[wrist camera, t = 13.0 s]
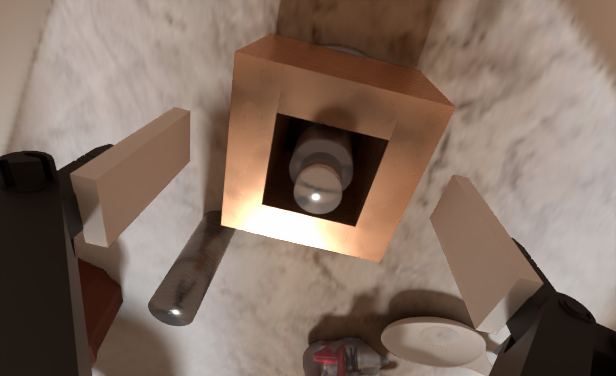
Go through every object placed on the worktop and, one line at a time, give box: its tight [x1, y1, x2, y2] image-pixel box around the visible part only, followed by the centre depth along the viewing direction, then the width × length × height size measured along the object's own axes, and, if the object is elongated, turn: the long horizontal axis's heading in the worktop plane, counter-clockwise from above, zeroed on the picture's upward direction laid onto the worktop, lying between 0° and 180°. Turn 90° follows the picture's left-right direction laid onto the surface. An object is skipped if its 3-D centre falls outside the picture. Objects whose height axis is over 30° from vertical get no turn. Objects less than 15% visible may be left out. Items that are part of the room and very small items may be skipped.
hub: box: [284, 44, 372, 214], centre depth 17 cm, size 9×9×10 cm
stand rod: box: [148, 211, 236, 326], centre depth 24 cm, size 3×3×9 cm
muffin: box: [77, 258, 123, 368], centre depth 30 cm, size 12×11×10 cm
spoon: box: [381, 317, 493, 376], centre depth 34 cm, size 35×8×3 cm, turn 62°
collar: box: [221, 33, 455, 262], centre depth 18 cm, size 9×9×7 cm
